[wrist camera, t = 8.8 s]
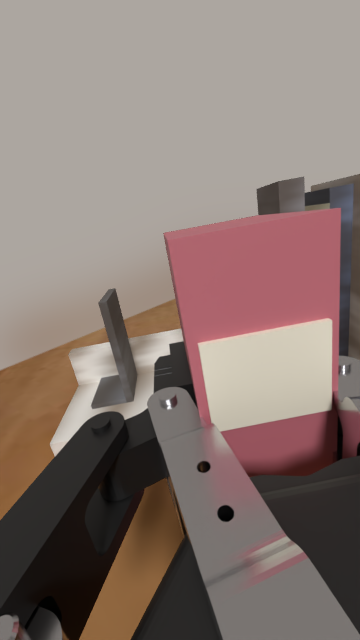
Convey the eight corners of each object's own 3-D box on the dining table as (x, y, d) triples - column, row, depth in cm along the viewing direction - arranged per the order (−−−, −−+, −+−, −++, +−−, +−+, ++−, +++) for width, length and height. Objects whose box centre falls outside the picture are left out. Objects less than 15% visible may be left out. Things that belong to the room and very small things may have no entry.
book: (276, 463, 14) (257, 215, 10) (337, 587, 9) (345, 207, 5) (209, 477, 14) (163, 233, 10) (235, 608, 9) (167, 240, 5)
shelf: (324, 345, 30) (324, 177, 25) (391, 394, 21) (413, 152, 16) (86, 391, 30) (32, 231, 24) (56, 459, 21) (-38, 235, 16)
